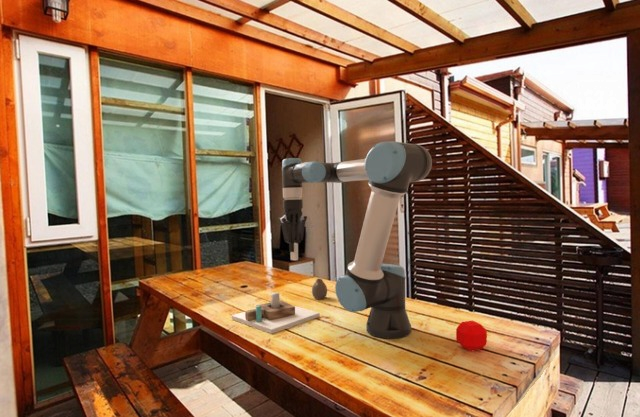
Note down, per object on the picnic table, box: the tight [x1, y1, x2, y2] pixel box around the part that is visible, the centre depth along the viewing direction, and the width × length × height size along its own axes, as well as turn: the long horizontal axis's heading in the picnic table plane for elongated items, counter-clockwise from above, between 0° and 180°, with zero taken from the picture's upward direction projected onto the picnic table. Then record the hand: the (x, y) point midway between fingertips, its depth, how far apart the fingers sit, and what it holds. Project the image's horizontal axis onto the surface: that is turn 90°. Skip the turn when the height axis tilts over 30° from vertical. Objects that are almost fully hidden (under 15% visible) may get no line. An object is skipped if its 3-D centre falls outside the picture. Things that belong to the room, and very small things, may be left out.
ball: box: [455, 320, 488, 352], centre depth 120 cm, size 8×8×8 cm
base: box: [231, 292, 321, 334], centre depth 152 cm, size 24×24×10 cm
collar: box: [244, 300, 295, 321], centre depth 151 cm, size 18×11×3 cm, turn 123°
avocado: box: [311, 278, 328, 300], centre depth 179 cm, size 7×7×9 cm
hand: (294, 259), depth 152 cm, fingers closed
